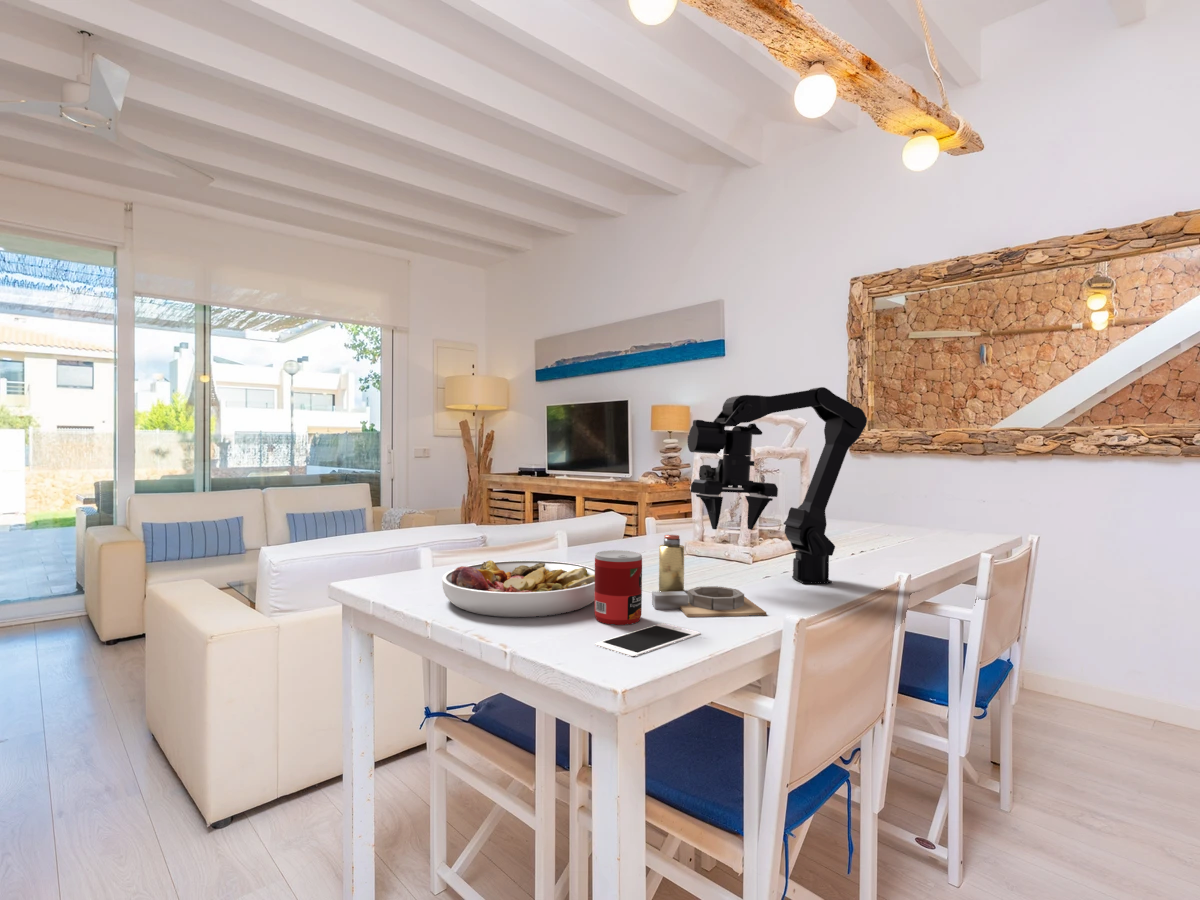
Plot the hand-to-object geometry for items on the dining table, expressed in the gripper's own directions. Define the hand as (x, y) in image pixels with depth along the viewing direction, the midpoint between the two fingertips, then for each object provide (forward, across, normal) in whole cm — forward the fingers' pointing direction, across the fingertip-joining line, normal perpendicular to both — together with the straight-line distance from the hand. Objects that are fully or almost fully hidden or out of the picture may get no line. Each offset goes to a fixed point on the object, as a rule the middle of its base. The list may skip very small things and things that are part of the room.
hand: (732, 529), depth 136 cm
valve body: (+12, +14, 0) cm, 19 cm away
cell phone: (+14, +34, +26) cm, 45 cm away
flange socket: (+12, +15, +13) cm, 23 cm away
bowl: (+15, +44, -5) cm, 46 cm away
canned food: (+14, +34, +14) cm, 39 cm away
